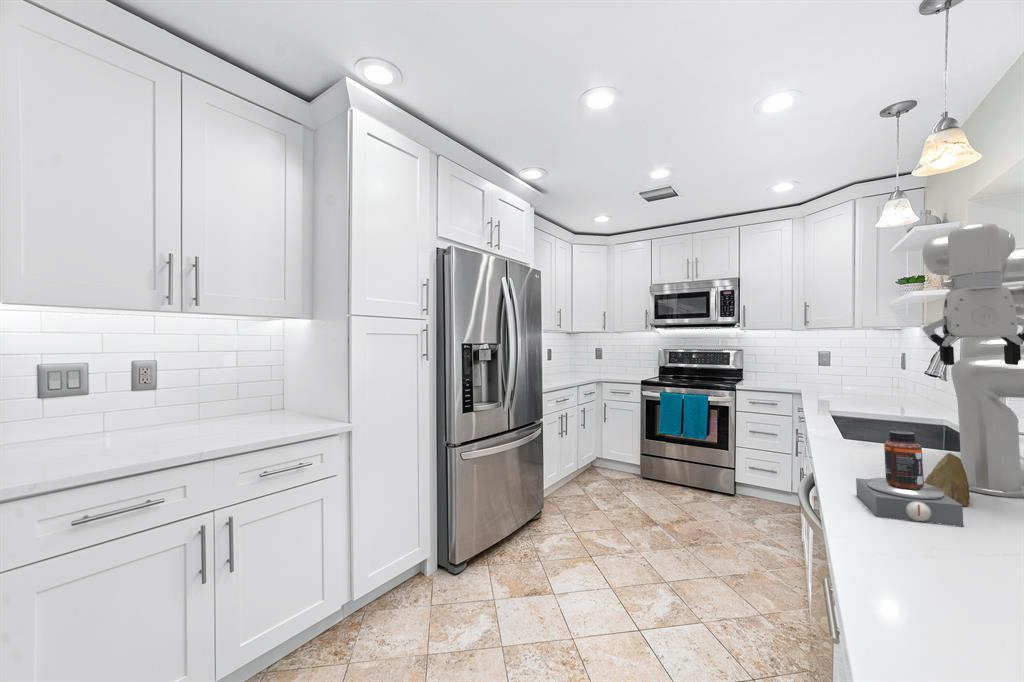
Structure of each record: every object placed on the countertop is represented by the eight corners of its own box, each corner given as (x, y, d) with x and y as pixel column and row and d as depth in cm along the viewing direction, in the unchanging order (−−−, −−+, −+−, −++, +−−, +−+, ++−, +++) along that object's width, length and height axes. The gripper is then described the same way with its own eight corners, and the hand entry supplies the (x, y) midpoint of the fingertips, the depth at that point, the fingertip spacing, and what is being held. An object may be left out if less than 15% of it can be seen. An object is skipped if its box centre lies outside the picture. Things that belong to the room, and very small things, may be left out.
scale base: (856, 495, 100) (856, 478, 100) (930, 503, 94) (929, 484, 94) (877, 517, 87) (876, 497, 87) (964, 527, 81) (963, 506, 81)
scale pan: (859, 478, 99) (859, 475, 99) (928, 485, 93) (928, 481, 93) (877, 494, 88) (877, 490, 88) (956, 502, 83) (956, 498, 83)
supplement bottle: (931, 490, 87) (929, 434, 88) (898, 489, 88) (895, 434, 89) (910, 482, 93) (908, 429, 93) (879, 481, 94) (877, 429, 95)
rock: (988, 501, 88) (987, 483, 95) (950, 464, 92) (952, 450, 98) (931, 520, 95) (934, 502, 102) (898, 485, 99) (903, 470, 105)
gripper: (928, 285, 91) (932, 365, 91) (1046, 277, 84) (1051, 365, 83) (914, 289, 98) (918, 364, 97) (1021, 282, 90) (1026, 364, 90)
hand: (979, 364), depth 90 cm, fingers open, 9 cm apart
